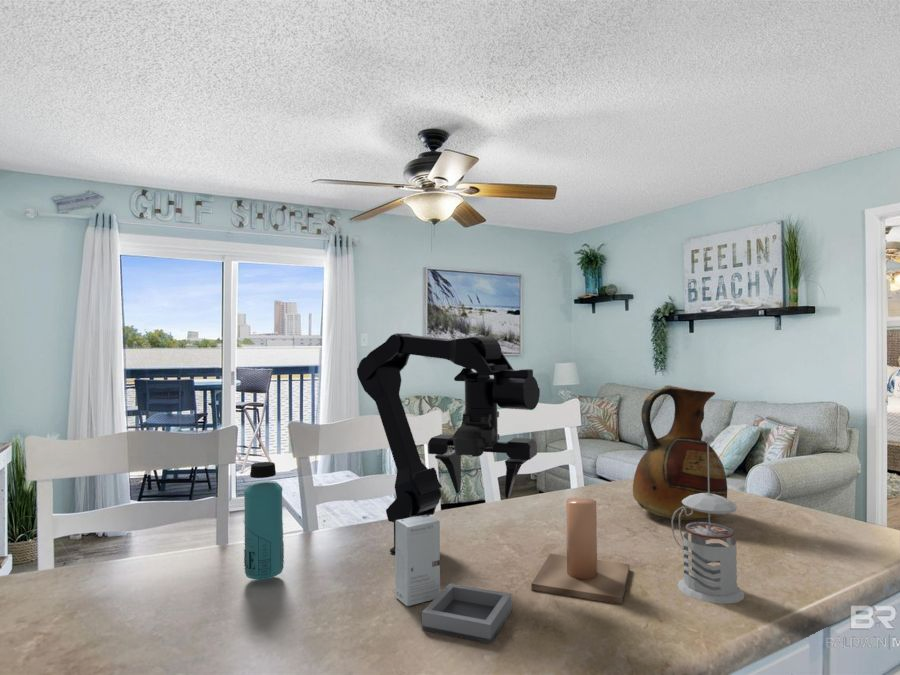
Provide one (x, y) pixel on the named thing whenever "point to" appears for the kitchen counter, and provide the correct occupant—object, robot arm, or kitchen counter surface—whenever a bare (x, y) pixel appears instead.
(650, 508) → the ceramic pitcher
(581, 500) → the terracotta canister
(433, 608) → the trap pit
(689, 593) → the french press
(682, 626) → the kitchen counter surface
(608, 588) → the mat
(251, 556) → the beverage bottle
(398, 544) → the skincare box
